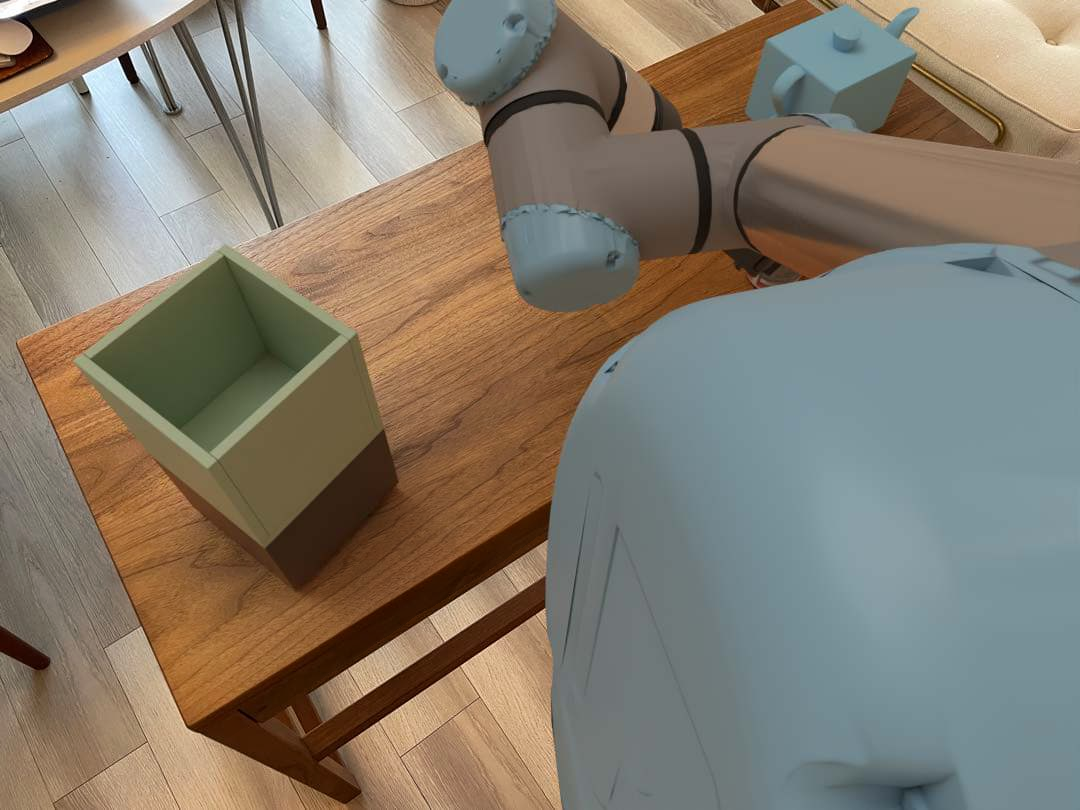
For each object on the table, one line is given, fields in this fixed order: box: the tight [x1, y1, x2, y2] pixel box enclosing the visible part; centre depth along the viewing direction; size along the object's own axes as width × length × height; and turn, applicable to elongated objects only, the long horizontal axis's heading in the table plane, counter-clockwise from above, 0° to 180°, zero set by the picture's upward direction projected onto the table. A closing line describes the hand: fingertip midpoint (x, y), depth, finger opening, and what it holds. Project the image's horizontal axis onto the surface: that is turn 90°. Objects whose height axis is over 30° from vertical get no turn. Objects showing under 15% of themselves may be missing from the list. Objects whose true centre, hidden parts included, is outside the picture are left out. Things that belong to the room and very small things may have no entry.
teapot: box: [744, 4, 921, 133], centre depth 95 cm, size 22×11×14 cm, turn 125°
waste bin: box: [72, 244, 400, 593], centre depth 62 cm, size 13×13×23 cm
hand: (736, 213), depth 75 cm, fingers open, 13 cm apart
